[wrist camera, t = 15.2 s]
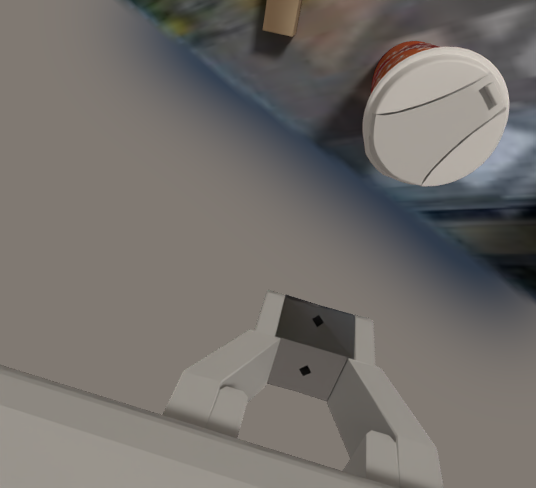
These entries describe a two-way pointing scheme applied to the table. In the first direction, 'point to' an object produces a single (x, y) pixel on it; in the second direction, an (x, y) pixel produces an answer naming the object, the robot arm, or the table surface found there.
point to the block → (282, 16)
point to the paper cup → (433, 113)
